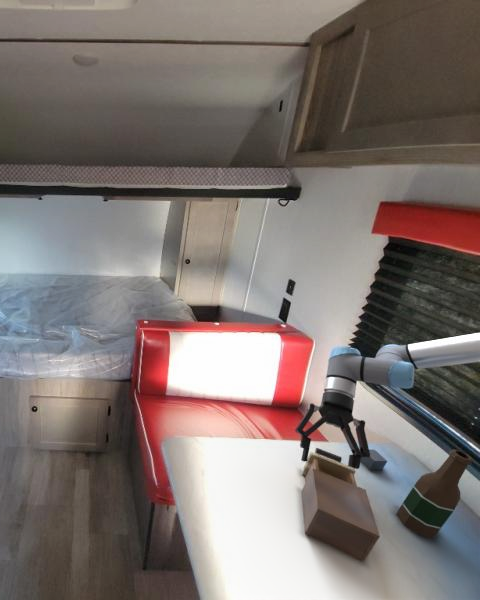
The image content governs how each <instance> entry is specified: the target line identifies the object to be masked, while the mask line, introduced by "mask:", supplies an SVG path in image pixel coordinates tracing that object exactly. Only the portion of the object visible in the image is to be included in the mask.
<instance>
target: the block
mask: <svg viewBox="0 0 480 600" xmlns="http://www.w3.org/2000/svg"><path fill="white" fill-rule="evenodd" d="M369 452H370V457H365V458H364V457H361V460H360V464H362V465H363V466H364V467H365V468H366V469H367V470H369V471H383V470H384V468H385V467H386V465H387V463H388V460H387V459H386V458H385V457H384V456H382V455H381V454H380V453H379V452H378V451H377V450H375V449H369Z"/></svg>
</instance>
